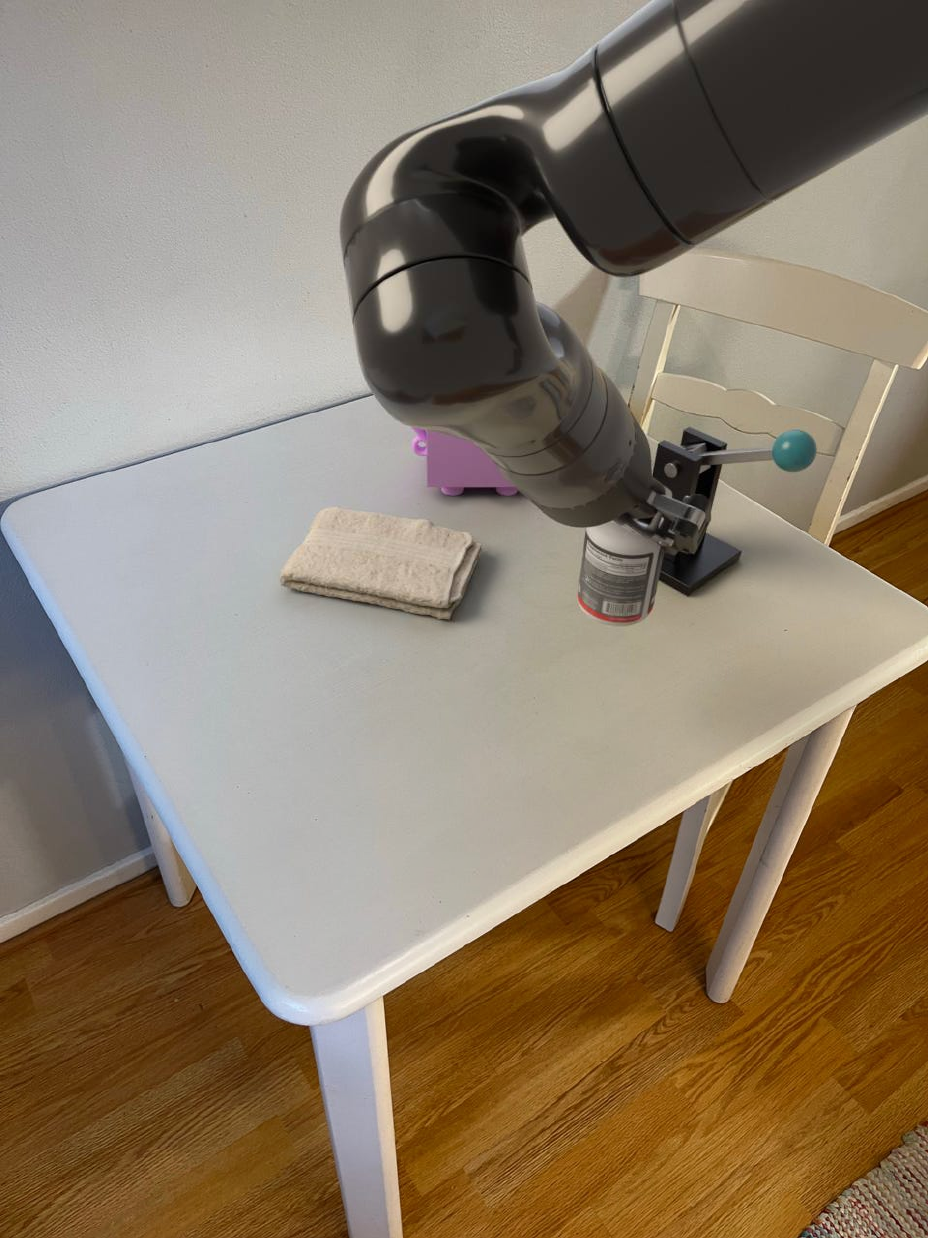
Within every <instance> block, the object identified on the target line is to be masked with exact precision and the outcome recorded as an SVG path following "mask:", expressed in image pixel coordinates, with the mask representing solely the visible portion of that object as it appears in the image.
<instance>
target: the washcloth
mask: <svg viewBox="0 0 928 1238" xmlns="http://www.w3.org/2000/svg"><path fill="white" fill-rule="evenodd" d="M482 548H483V544H482V543H480V542H478V541H474V540H473V535H472V533H470V532H467V531H460V530H455V529H451V528H447V527H443V526H441V525H437V524H435V523H434V522H433V521H431V520H430V519H426V518H419V519H418V518H416V519H415V518H407V517H401V516H400V517H399V516H395V515H390V514H387V513H379V512H374V511H363V510H362V511H361V510H355V509H350V508H344V507H341V506H333V507H332V506H331V507H326V508H322V509H320V510H319V512H318V513H317V514H316V516H315V517H314V519H313V521H312V523H311V525H310V528H309V529H308V534H307V535H306V537H305V538H304V541H303V542H302V544H301V545H298V546H297V547H295V550H294V551H293V552H292V554H291V555H290V556H289V558H288V560H286V563H285V564H284V566H283V567H282V569H281V570H280V573H279V577H278V581H279V582H280V587H282V586H283V587H284V588H286V589H292V590H296V591H299V592H304V593H310V594H315V595H319V596H325V597H328V598H340V599H342V600H349V601H354V602H356V601H357V602H362V603H368V604H371V605H378V606H381V607H385V608H387V609H394V610H401V611H403V612H405V613H411V614H412V615H413V614H414V615H422V616H432V617H433V618H437V619H438V620H450V619H451V616H452V614H453V611H454V610H455V609H456V608H457V606H459V604H460V603H461V601H462V600H463V597H464V595H465V593H466V591H467V588H468V585H469V581H470V579H471V577H472V575H473V572H474V570H475V567H476V565H477V563H478V561H479V558H480V556H481V554H482V550H483V549H482Z"/></svg>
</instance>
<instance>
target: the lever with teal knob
mask: <svg viewBox="0 0 928 1238" xmlns="http://www.w3.org/2000/svg"><path fill="white" fill-rule="evenodd" d="M679 447H680V448H683V449H685V450H687V451H689V452H691V453H693V454H696V455H698V456H700V457H702V458H703V459H702V463H701V468H700V472H699V474H700V473H702V472H703V471H705V470H707V469H708V468H710V467H711V466H710V465H717V464H722V465H726V464H727V465H729V464H741V463H753V462H765V461H767V462H768V461H773V462H774V464H775V466H777V467H778V469H780V470H782V471H784V472H788V473H799V472H802V471H805V470H806V469H808V468H809V467H810V465H812V464H813V462H814V461H815V459H816V456H817V452H818V447H817V444H816V440H815V439H814V437H813V436H812V435H811V434H810V433H808V432H807V431H805V430H801V429H790V430H787V431H784V432H783V433H781V434H780V435H779V436H778V437H777V438H776V439H775V440H774V443H773V444H772V445H766V446H755V447H746V448H744V447H743V448H734V449H726V450H722V451H711V452H707V448H706V444H705V443H701V444H691V445H682V446H680V445H679Z"/></svg>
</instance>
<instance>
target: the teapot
mask: <svg viewBox="0 0 928 1238" xmlns="http://www.w3.org/2000/svg"><path fill="white" fill-rule="evenodd" d="M411 429H412V430H413V431H414V433H415V434H416V435H417V436H415V437H414V438H413V440H412V441H411V449H412V451H413V453H414V454H415V455H417V456H419V457H426V488H441V492H442V493H443V494H444V495H448V496H450V497H451V496H452V497H453V496H460V495H461V494H463V493H464V492H465V488H495V491H496V493H498V494H499V495H502V496H513V495H516V494H517V493H518V492H519V490H518V489H517V488H515V487H514V486H513V485H512V484H511V483H510V482H509V481H508V480H507V479H506V478H505V477H504V476H503V475H502V474H501V473H500V471H499V470H498V469H497V467H496V466H495V464H494V463H493V461H492V459H491V458H490V457H488V456H487V455H486V454H485V453H484V452H483V451H482V450H481V449H480V448H479V447H477V446H476V445H475V444H474V443H473V442H472V441H468V440H464V439H460V438H456V437H453V436H449V435H446V434H442V433H438V432H433V431H427V430H422V429H417V428H413V427H411ZM422 442H423V443H424V445H425V446H420V445H419V443H422Z"/></svg>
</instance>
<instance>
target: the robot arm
mask: <svg viewBox="0 0 928 1238" xmlns="http://www.w3.org/2000/svg"><path fill="white" fill-rule="evenodd" d="M926 116H928V0H649V1H648V2H647V3H645V4H644V5H642V6H641V7H640V8H639V9H638V10H636V11H635V12H633V13H632V14H631V15H630V16H628V17H627V18H626V19H624V20H622V22H621V23H618V25H617V26H616V27H614V28H613V29H612V30H610V31H609V32H608V33H606V34H605V35H604V36H602V37H601V38H600V39H599V41H598V42H596V43H594V44H592V45H591V46H590V47H589V48H587V50H585V51H584V52H583V53H582V54H580V55H579V56H578V57H577V58H576V59H574V60H573V61H572V62H571V63H569V64H567V65H566V66H564V67H563V68H561V69H559V70H557V71H554V72H552V73H550V74H547V75H544V76H542V77H540V78H536V79H534V80H531V81H529V82H525V83H523V84H520V85H517V86H515V87H512V88H509V89H507V90H503V91H501V92H499V93H496V94H495V95H492V96H490V97H488V98H485V99H483V100H480V101H479V102H476V103H473V104H471V105H469V106H466V107H463V108H461V109H458V110H456V111H454V112H451V113H449V114H446V115H444V116H441V117H438V118H436V119H433V120H431V121H428V122H426V123H424V124H421V125H420V126H416V127H414V128H413V129H411V130H408V131H406V132H405V133H402V134H401V135H399V136H397V137H396V138H394V139H393V140H391V141H389V142H388V143H387V144H386V145H384V146H383V147H382V148H381V149H380V150H379V151H378V152H377V153H375V154H374V155H373V156H372V157H371V158H370V159H369V161H367V163H366V164H365V166H364V167H363V168H362V169H361V170H360V172H359V173H358V175H357V176H356V178H355V179H354V181H353V182H352V184H351V186H350V188H349V190H348V192H347V194H346V196H345V198H344V201H343V204H342V207H341V212H340V216H339V230H338V231H339V232H338V233H339V242H340V251H341V257H342V258H341V259H342V263H343V269H344V275H345V282H346V289H347V297H348V301H349V308H350V309H349V310H350V316H351V322H352V327H353V328H352V329H353V337H354V342H355V350H356V356H357V361H358V364H359V367H360V371H361V374H362V376H363V378H364V380H365V383H366V384H367V386H368V388H369V390H370V392H371V393H372V394H373V396H374V398H375V399H376V401H377V402H378V403H379V405H381V407H382V408H383V409H384V410H385V411H386V412H387V414H388V415H390V416H391V418H393V419H394V420H395V421H397V422H400V423H401V424H402V425H404V426H408V427H411V428H412V427H413V428H417V429H422V430H427V431H433V432H438V433H442V434H446V435H449V436H453V437H456V438H460V439H464V440H468V441H472V442H473V443H474V444H475V445H476V446H477V447H479V448H480V449H481V450H482V451H483V452H484V453H485V454H486V455H487V456H488V457H490V458H491V459H492V461H493V463H494V464H495V466H496V467H497V469H498V470H499V471H500V473H501V474H502V475H503V476H504V477H505V478H506V479H507V480H508V481H509V482H510V483H511V484H512V485H513V486H514V487H515V488H517V489H518V492H520V493H521V494H522V495H523V496H524V497H525V498H526V499H527V500H528V501H530V502H531V503H532V504H533V505H534V506H535V507H537V508H538V509H539V510H540V511H541V512H542V513H543V514H544V515H546V516H547V517H548V518H550V519H551V520H553V521H554V522H556V523H558V524H561V525H563V526H567V527H571V528H579V529H581V528H582V529H584V528H585V529H586V528H587V527H595V526H599V525H602V524H605V523H608V522H611V523H615V524H618V525H620V526H622V527H623V528H625V529H626V530H628V531H629V532H631V533H632V534H634V535H637V536H640V537H643V538H647V539H651V538H653V539H655V540H656V541H657V543H658V544H659V545H660V546H661V548H662V549H663V550H664V551H665V552H667V553H669V554H672V555H676V553H677V552H678V551H680V552H684V553H687V554H689V553H691V554H695V552H696V550H697V548H698V546H699V544H700V542H701V540H702V538H703V536H704V533H705V531H706V529H707V530H708V527H709V525H710V523H711V521H712V510H711V501H710V500H708V499H707V498H706V496H704V495H701V494H692V495H691V497H689V496H685V497H684V499H683V501H682V502H680V501H678V500H675V499H673V498H672V492H671V490H669V489H668V488H667V487H665V486H664V485H663V484H662V483H660V482H659V481H658V480H656V479H655V478H654V477H652V474H653V469H652V453H651V447H650V443H649V440H648V437H647V435H646V433H645V431H644V430H643V428H642V426H641V425H640V423H639V422H638V420H637V418H636V416H635V415H634V413H633V411H632V410H631V408H630V407H629V405H628V403H627V402H626V400H625V399H624V397H623V395H622V394H621V392H620V390H619V388H618V387H617V386H616V385H615V383H614V382H613V380H612V378H610V376H609V375H608V374H607V373H606V372H605V371H604V370H603V369H601V368H600V366H598V364H597V362H596V361H595V360H594V358H593V356H592V355H591V353H590V351H589V350H588V348H587V347H586V345H585V343H584V341H583V340H582V339H581V337H580V336H579V334H578V333H577V332H576V330H575V329H574V328H573V327H572V326H571V324H570V323H569V322H568V321H567V320H566V319H565V318H564V317H563V316H562V315H561V314H560V313H559V312H557V311H556V310H554V309H553V308H551V307H549V306H548V305H546V304H544V303H542V302H540V301H537V300H536V297H535V293H534V289H533V283H532V279H531V275H530V270H529V265H528V261H527V260H528V259H527V257H526V252H525V251H526V250H525V247H524V243H523V237H524V236H525V235H526V234H528V232H529V231H530V230H532V229H533V228H535V227H536V226H538V225H540V224H542V223H544V222H546V221H550V220H552V219H553V220H554V219H555V220H556V221H557V222H558V224H559V226H560V228H561V229H562V230H563V232H564V234H565V235H566V237H567V238H568V239H569V241H570V243H571V244H572V245H573V248H575V249H576V251H577V252H578V253H579V254H580V255H581V256H582V257H583V258H584V259H585V260H586V261H587V263H589V264H590V265H591V266H592V267H594V268H596V269H597V270H598V271H599V272H602V273H603V274H605V275H609V276H610V277H611V276H612V277H615V278H620V279H621V278H623V279H624V278H625V279H627V278H634V277H638V276H639V277H640V276H641V275H642V276H643V275H644V274H647V273H649V272H651V271H654V270H656V269H659V268H661V267H662V266H665V265H666V264H668V263H670V262H671V261H674V260H675V259H677V258H679V257H681V256H682V255H684V254H686V253H688V252H689V251H691V250H693V249H694V248H696V247H697V246H698V245H701V244H704V243H705V242H707V241H709V240H711V239H712V238H714V237H715V236H717V235H719V234H721V233H722V232H724V231H725V230H728V229H729V228H731V227H732V226H735V225H737V224H738V223H740V222H742V221H743V220H745V219H747V218H748V217H750V216H752V215H754V214H756V213H757V212H759V211H761V210H762V209H764V208H766V207H768V206H769V205H771V204H773V203H774V202H776V201H778V200H780V199H781V198H783V197H785V196H787V195H789V194H790V193H792V192H793V191H795V190H797V189H799V188H801V187H802V186H804V185H806V184H808V183H809V182H811V181H812V180H814V179H816V178H817V177H819V176H821V175H822V174H824V173H827V172H828V171H829V170H831V169H833V168H834V167H836V166H839V165H840V164H842V163H843V162H845V161H847V160H849V159H851V158H852V157H854V156H856V155H857V154H860V153H861V152H863V151H864V150H866V149H868V148H869V147H872V146H874V145H875V144H877V143H879V142H880V141H882V140H884V139H885V138H887V137H889V136H891V135H892V134H894V133H897V132H898V131H901V130H902V129H904V128H906V127H907V126H910V125H911V124H913V123H915V122H917V121H919V120H920V119H922V118H924V117H926ZM663 515H665V518H664V520H663V522H662V524H661V526H660V528H659V523H660V521H661V519H662V517H663ZM633 519H637V520H636V521H635V520H633ZM706 532H707V531H706Z"/></svg>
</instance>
